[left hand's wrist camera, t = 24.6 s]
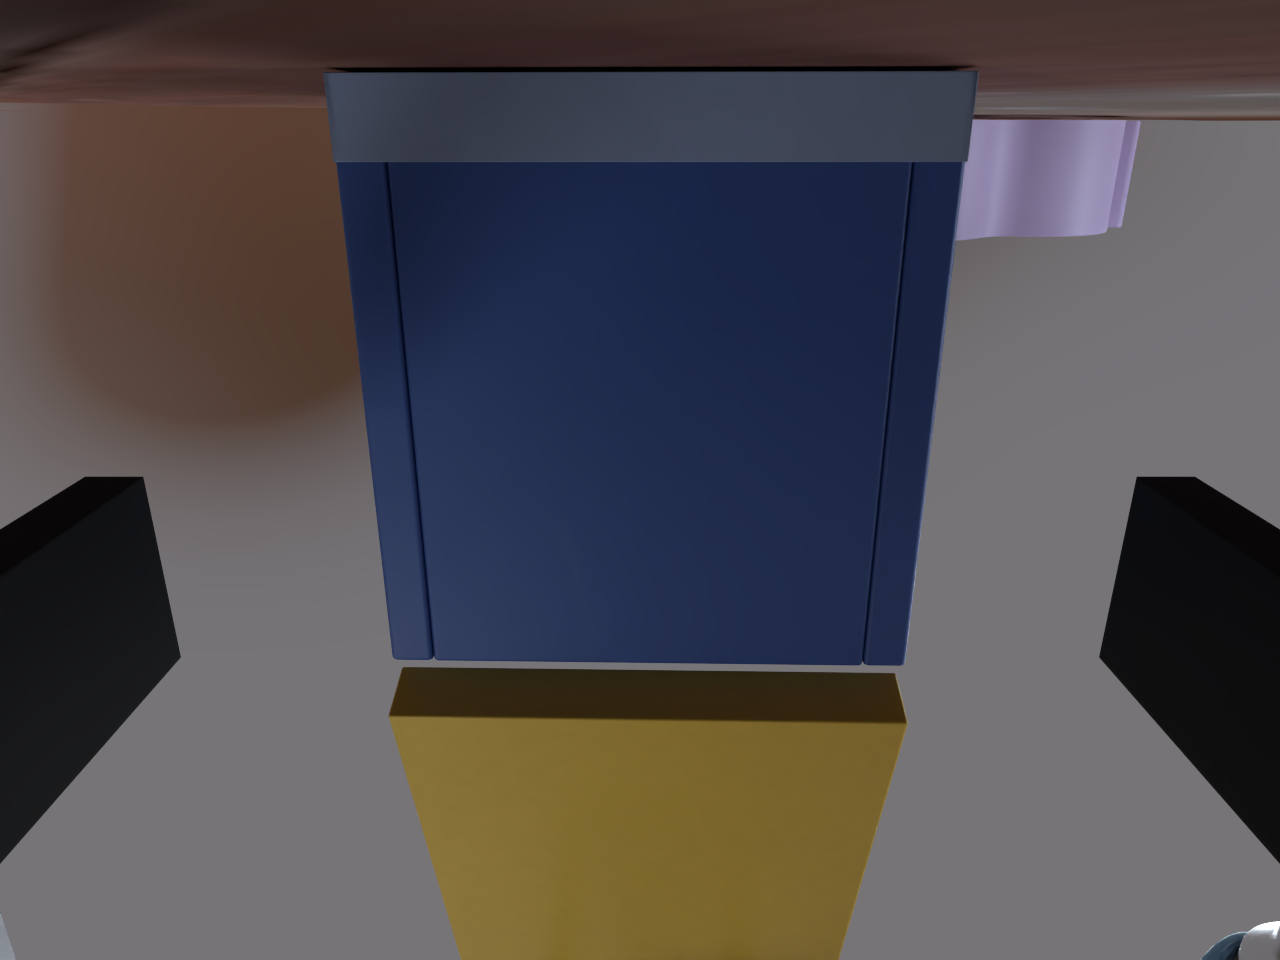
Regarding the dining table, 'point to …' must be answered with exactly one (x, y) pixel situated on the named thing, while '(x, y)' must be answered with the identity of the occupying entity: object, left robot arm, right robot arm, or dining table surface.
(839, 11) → the dining table surface
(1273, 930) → the right robot arm
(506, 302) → the chest
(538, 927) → the lid
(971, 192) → the clip
